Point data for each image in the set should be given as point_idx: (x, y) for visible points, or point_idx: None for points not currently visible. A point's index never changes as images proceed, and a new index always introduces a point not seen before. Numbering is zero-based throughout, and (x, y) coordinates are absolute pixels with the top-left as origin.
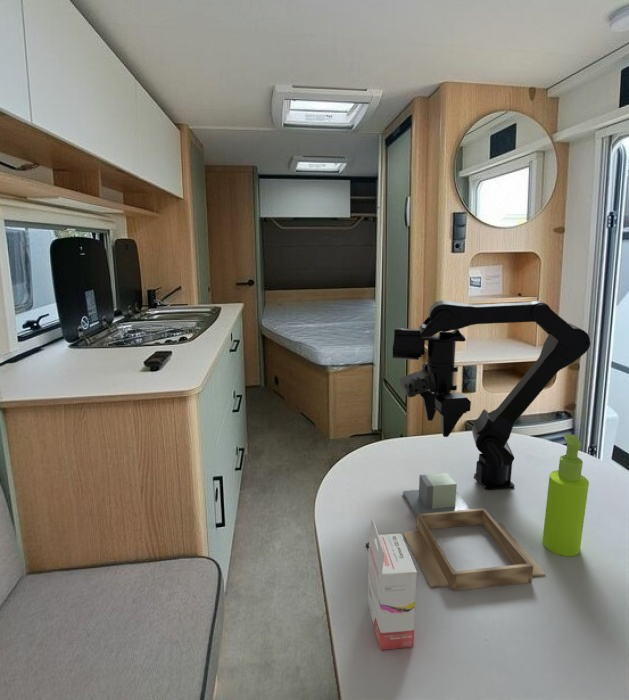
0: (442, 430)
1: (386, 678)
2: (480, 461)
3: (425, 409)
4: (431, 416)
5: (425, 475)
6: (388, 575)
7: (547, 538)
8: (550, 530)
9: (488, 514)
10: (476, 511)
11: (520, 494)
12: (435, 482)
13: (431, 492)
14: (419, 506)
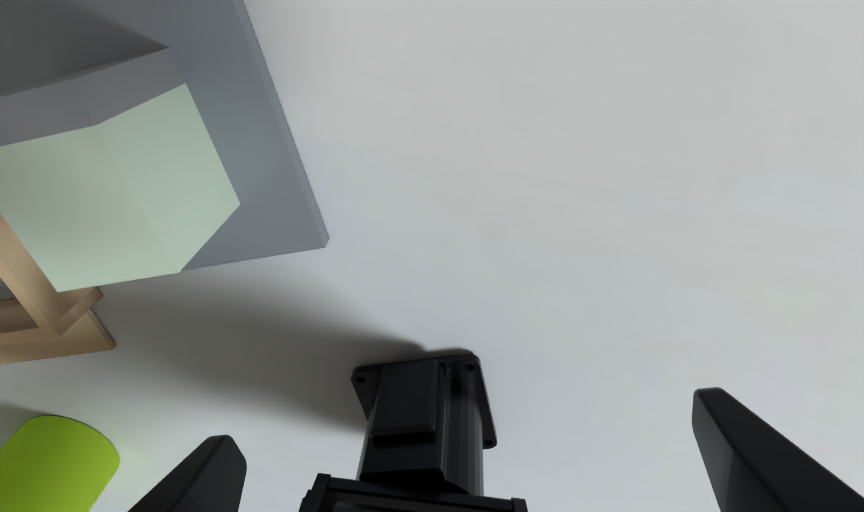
0: (174, 490)
1: None
2: (417, 440)
3: (831, 505)
4: (715, 464)
5: (87, 125)
6: None
7: (12, 444)
8: None
9: (15, 339)
10: (24, 302)
11: (342, 448)
12: (15, 177)
13: None
14: (67, 37)
